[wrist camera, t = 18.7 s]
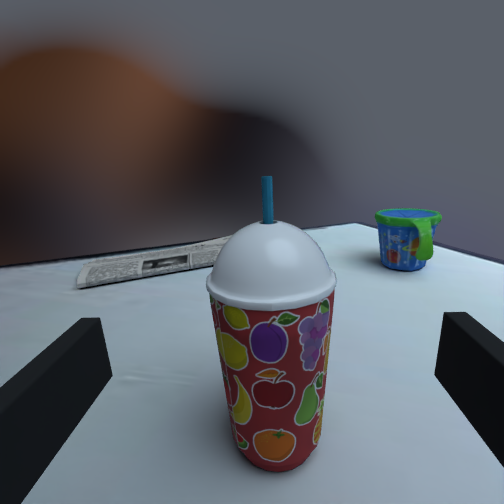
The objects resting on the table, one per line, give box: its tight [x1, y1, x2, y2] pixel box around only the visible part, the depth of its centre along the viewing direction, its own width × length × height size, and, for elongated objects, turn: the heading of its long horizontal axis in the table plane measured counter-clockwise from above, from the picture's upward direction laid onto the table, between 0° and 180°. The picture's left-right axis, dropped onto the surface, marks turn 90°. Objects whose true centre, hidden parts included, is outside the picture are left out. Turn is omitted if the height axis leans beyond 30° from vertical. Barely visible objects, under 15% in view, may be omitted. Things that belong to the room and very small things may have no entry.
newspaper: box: [77, 236, 231, 288], centre depth 66 cm, size 35×12×4 cm, turn 111°
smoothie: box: [206, 176, 337, 472], centre depth 21 cm, size 8×8×20 cm
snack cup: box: [375, 208, 442, 271], centre depth 57 cm, size 16×10×10 cm
